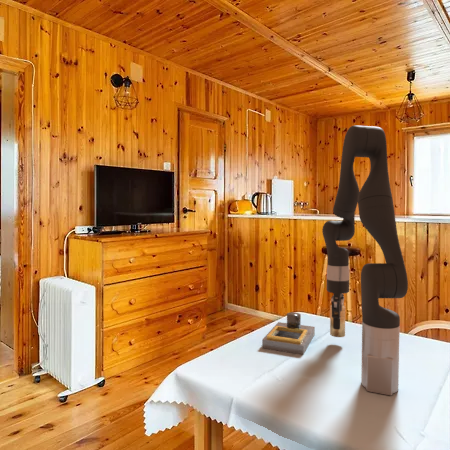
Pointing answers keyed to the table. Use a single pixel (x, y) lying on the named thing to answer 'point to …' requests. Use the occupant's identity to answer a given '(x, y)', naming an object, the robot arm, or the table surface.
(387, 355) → the robot arm
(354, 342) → the table surface
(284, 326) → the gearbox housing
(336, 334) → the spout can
